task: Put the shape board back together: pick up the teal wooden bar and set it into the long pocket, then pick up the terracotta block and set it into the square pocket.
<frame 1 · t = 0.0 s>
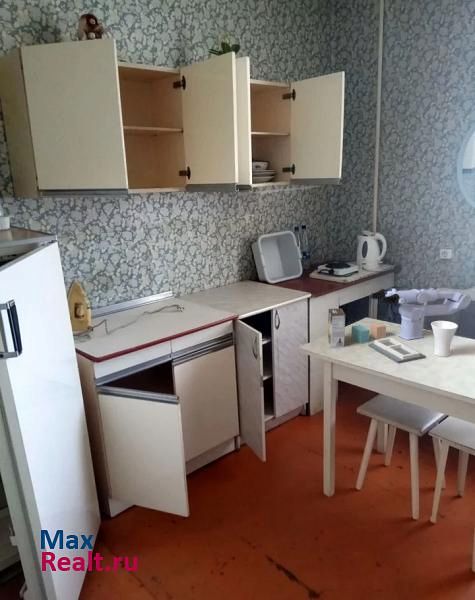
hand: (376, 298, 211), 22 cm above the table, tool horizontal, fingers open, 7 cm apart
teal bar: (359, 339, 221), on the table
coffee box: (336, 344, 217), on the table
terracotta block: (377, 336, 224), on the table
shape board: (396, 351, 205), on the table
cup: (441, 354, 201), on the table
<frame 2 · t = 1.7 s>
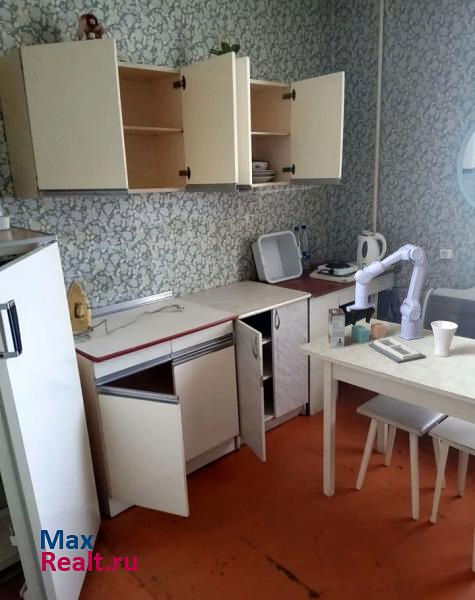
hand: (360, 323, 219), 8 cm above the table, tool pointing down, fingers open, 7 cm apart
nothing on the table moved.
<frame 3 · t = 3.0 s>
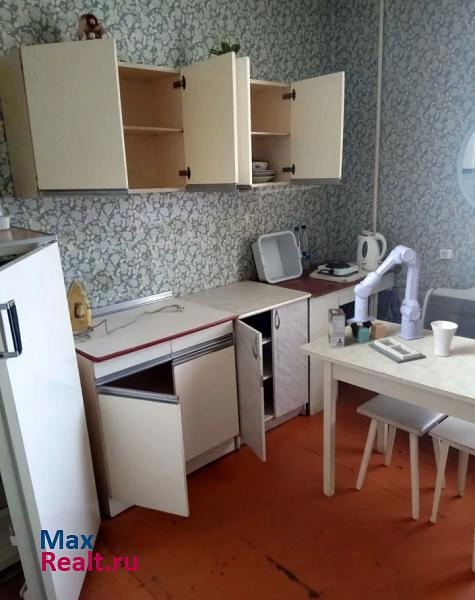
hand: (360, 336, 221), 1 cm above the table, tool pointing down, fingers closed on teal bar, 4 cm apart
teal bar: (359, 339, 221), on the table, touching gripper
everything else where it was.
when the fingers open (4 cm above the table, at t = 7.1 s): teal bar stays where it is, resting on shape board.
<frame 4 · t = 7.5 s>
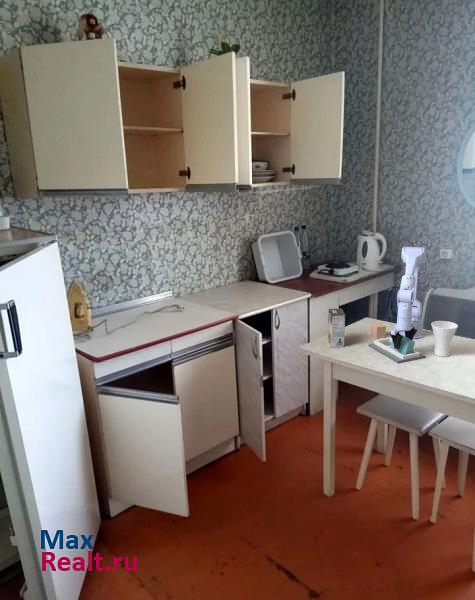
hand: (402, 346, 201), 4 cm above the table, tool pointing down, fingers open, 7 cm apart
teal bar: (400, 350, 202), point 2 cm above the table, tilted 10°, touching shape board
everything else where it was.
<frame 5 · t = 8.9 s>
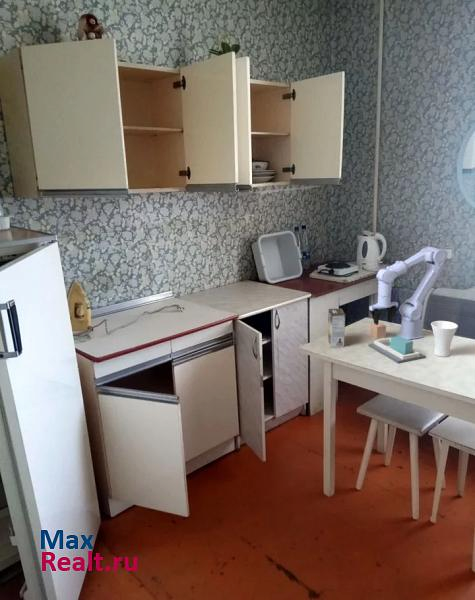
hand: (382, 322, 218), 8 cm above the table, tool pointing down, fingers open, 7 cm apart
teal bar: (401, 352, 202), point 1 cm above the table, touching shape board
everything else where it was.
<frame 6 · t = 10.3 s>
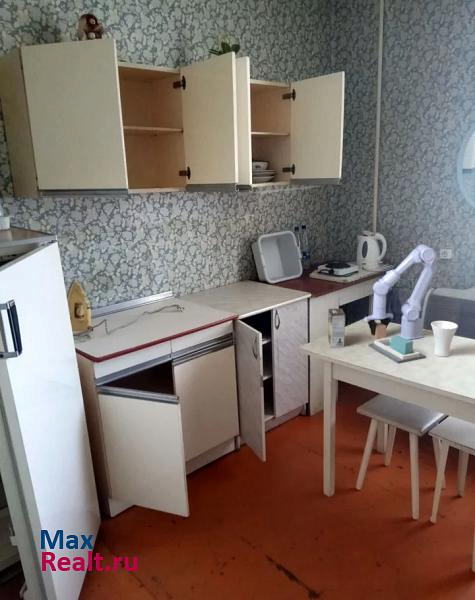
hand: (378, 333, 224), 1 cm above the table, tool pointing down, fingers closed on terracotta block, 5 cm apart
terracotta block: (377, 336, 224), on the table, touching gripper
everything else where it was.
when the fingers open (4 cm above the table, at t = 14.1 s): terracotta block drops 1 cm, resting on shape board.
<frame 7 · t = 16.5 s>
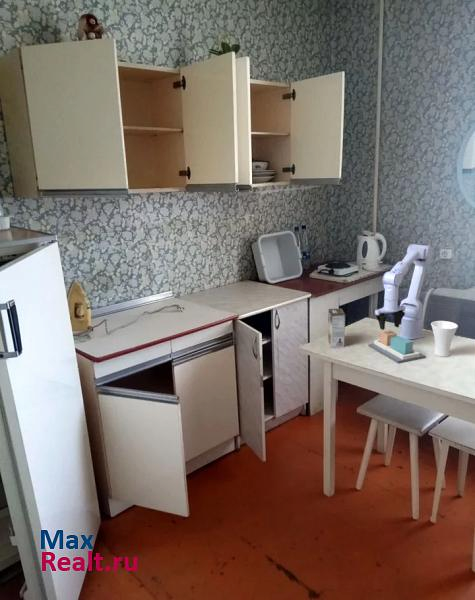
hand: (389, 327, 208), 9 cm above the table, tool pointing down, fingers open, 7 cm apart
terracotta block: (388, 345, 211), point 1 cm above the table, touching shape board
everything else where it was.
at the end: teal bar 0.5 cm from the target spot on the shape board, point 1.0 cm above the shape board's base; terracotta block 0.3 cm from the target spot on the shape board, point 1.0 cm above the shape board's base; terracotta block tilted 0° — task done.
